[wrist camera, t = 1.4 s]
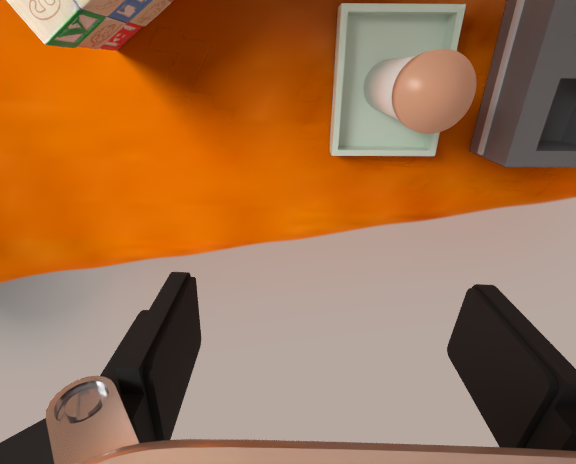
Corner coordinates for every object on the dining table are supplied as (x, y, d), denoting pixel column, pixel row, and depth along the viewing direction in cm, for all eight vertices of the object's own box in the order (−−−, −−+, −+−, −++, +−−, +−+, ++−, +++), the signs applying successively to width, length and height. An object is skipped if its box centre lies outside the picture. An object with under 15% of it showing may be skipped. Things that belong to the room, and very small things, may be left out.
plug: (364, 56, 26) (403, 48, 17) (418, 56, 26) (485, 49, 17) (358, 113, 28) (391, 133, 19) (409, 113, 28) (465, 134, 19)
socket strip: (518, -58, 24) (579, -91, 19) (644, -57, 24) (739, -90, 19) (467, 151, 30) (502, 166, 25) (565, 151, 30) (619, 167, 25)
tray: (337, 7, 25) (341, 3, 24) (453, 8, 25) (466, 3, 24) (329, 150, 30) (331, 155, 28) (426, 151, 30) (434, 156, 28)
